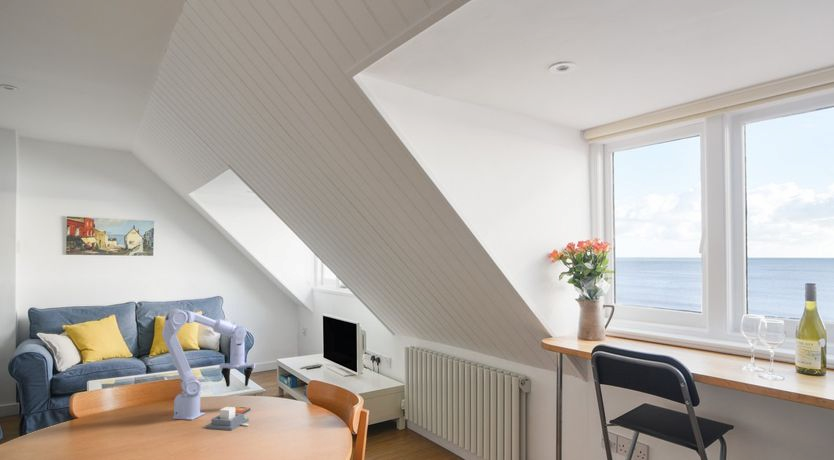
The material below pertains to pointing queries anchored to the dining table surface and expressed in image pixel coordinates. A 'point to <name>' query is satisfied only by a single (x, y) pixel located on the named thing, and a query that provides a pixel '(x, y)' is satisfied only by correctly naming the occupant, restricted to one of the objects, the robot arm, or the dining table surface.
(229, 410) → the white block
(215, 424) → the block
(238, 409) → the smartphone
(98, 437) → the dining table surface
